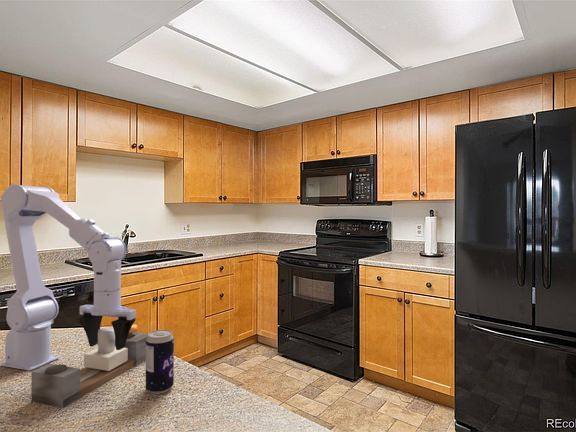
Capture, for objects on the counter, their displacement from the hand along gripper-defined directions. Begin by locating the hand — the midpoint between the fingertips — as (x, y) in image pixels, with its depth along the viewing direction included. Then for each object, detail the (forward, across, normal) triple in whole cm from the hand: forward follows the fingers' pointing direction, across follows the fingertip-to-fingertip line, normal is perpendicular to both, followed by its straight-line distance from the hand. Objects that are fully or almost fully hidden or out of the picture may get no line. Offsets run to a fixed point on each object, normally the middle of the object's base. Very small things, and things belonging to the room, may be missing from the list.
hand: (107, 346), depth 86 cm
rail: (+6, 0, -4) cm, 7 cm away
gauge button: (0, 0, +8) cm, 8 cm away
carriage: (+4, 0, 0) cm, 4 cm away
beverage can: (+6, +17, -4) cm, 18 cm away
